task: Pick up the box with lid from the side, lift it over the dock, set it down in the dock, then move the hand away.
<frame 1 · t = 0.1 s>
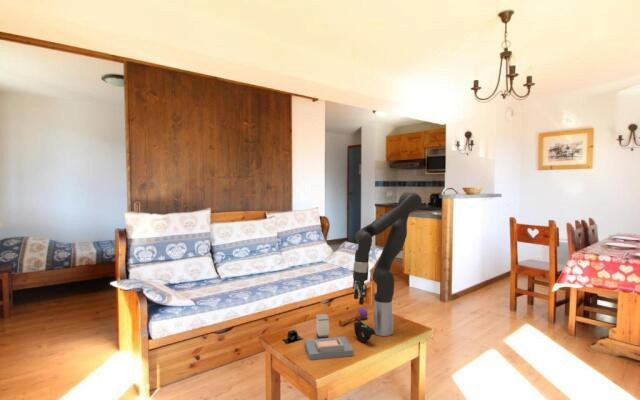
hand: (358, 301, 171), 17 cm above the table, tool pointing down, fingers open, 8 cm apart
kendama: (353, 322, 189), on the table
box with lid: (322, 337, 168), on the table
controller: (363, 342, 165), on the table
dock: (328, 350, 156), on the table
black piece: (292, 341, 166), on the table
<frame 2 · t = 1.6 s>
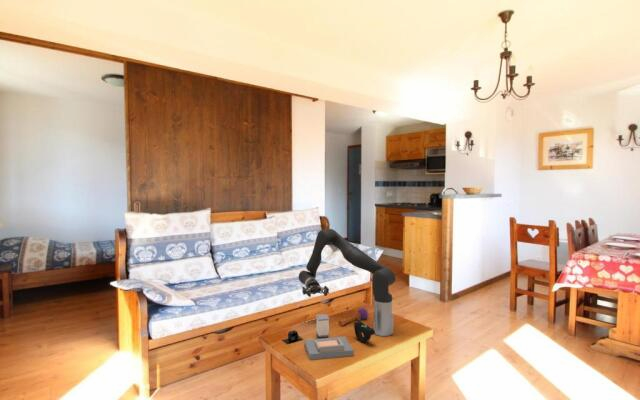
hand: (318, 294, 178), 18 cm above the table, tool horizontal, fingers open, 8 cm apart
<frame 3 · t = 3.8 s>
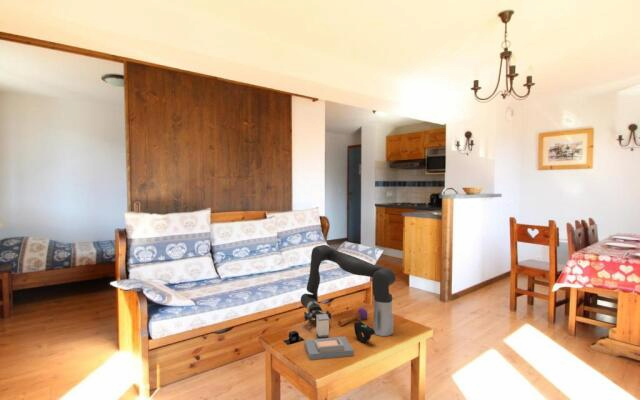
hand: (320, 320, 175), 6 cm above the table, tool horizontal, fingers open, 8 cm apart
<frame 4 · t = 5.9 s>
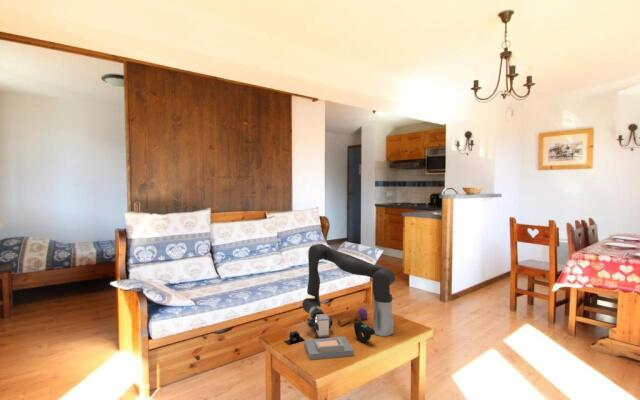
hand: (323, 328, 166), 6 cm above the table, tool horizontal, fingers closed on box with lid, 5 cm apart
box with lid: (322, 337, 168), on the table, touching gripper
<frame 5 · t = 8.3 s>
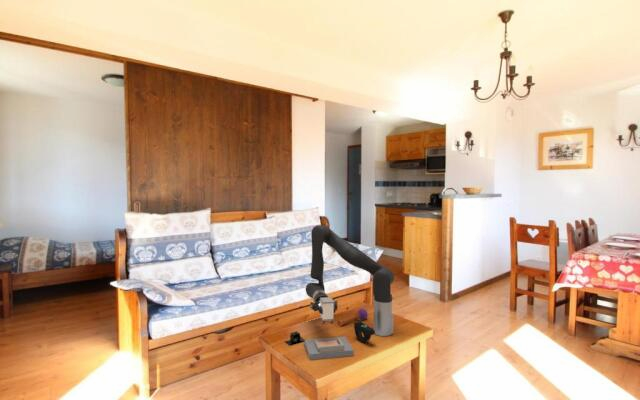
hand: (328, 311, 156), 18 cm above the table, tool horizontal, fingers closed on box with lid, 5 cm apart
box with lid: (326, 322, 159), point 12 cm above the table, touching gripper
when the fingers open (10 cm above the table, at t = 11.0 s): box with lid drops 1 cm, resting on dock.
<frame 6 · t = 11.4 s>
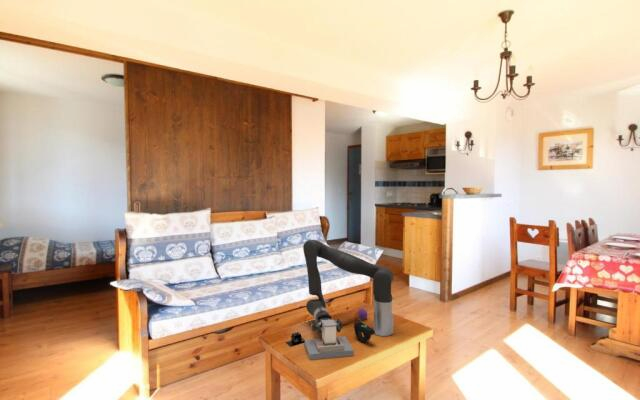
hand: (330, 331, 152), 10 cm above the table, tool horizontal, fingers open, 8 cm apart
box with lid: (328, 345, 155), point 3 cm above the table, touching dock
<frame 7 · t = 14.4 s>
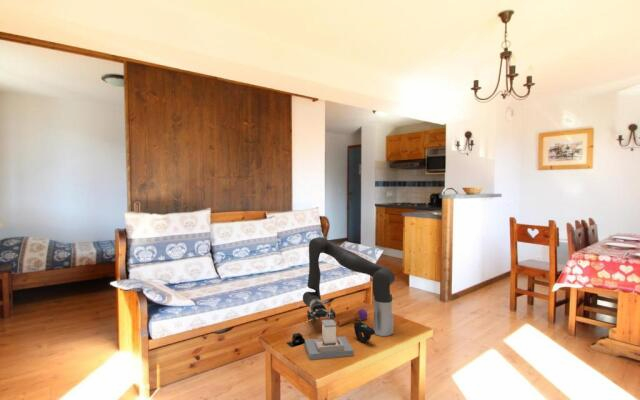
hand: (323, 319, 165), 10 cm above the table, tool horizontal, fingers open, 8 cm apart
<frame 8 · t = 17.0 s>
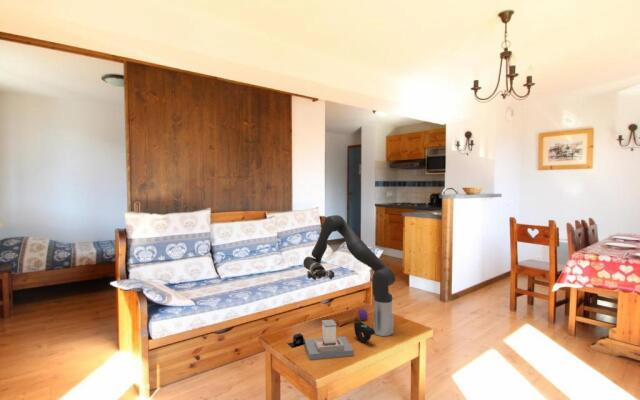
hand: (323, 277, 176), 28 cm above the table, tool horizontal, fingers open, 8 cm apart
at the end: box with lid 0.0 cm from the target spot on the dock, point 2.7 cm above the dock's base; box with lid tilted 0°; the gripper is holding nothing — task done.
